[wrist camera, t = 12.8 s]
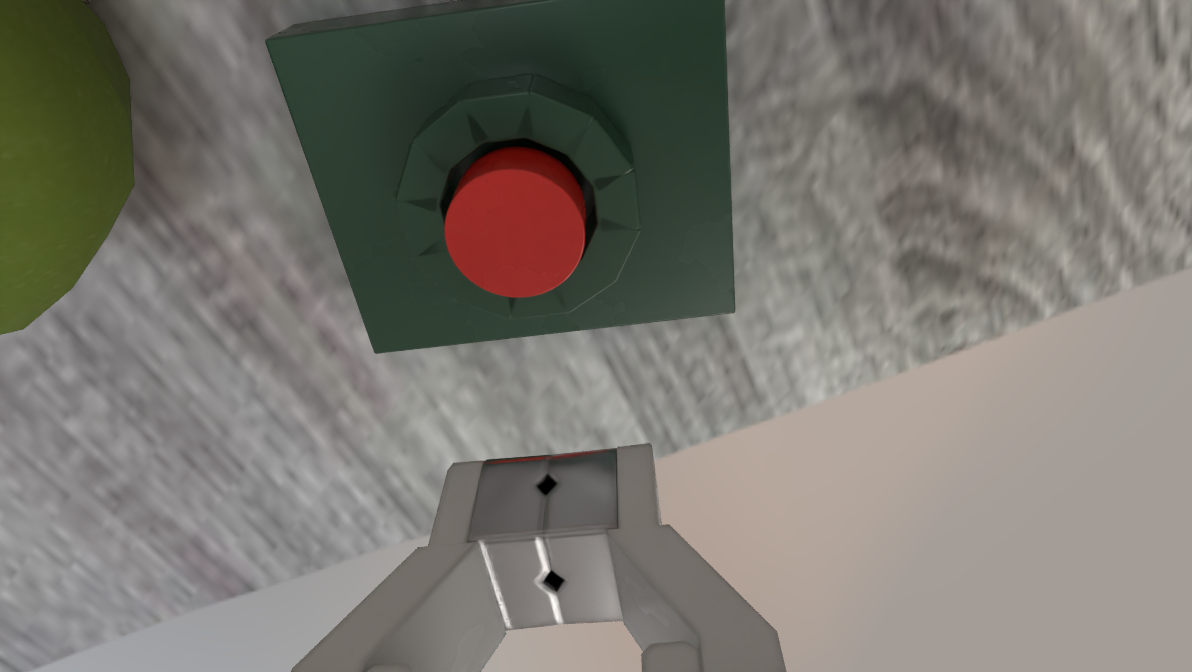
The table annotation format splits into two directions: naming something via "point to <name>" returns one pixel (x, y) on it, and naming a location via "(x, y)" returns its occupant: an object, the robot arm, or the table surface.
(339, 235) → the button box
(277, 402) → the table surface
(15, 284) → the apple
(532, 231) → the button
